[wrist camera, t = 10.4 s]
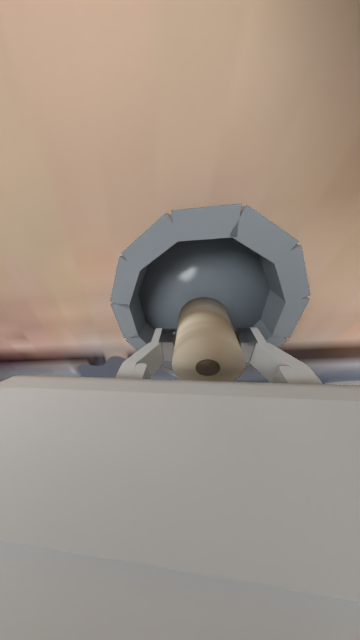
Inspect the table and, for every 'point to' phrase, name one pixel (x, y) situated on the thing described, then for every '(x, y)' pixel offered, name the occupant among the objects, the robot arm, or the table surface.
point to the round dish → (211, 273)
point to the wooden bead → (206, 343)
